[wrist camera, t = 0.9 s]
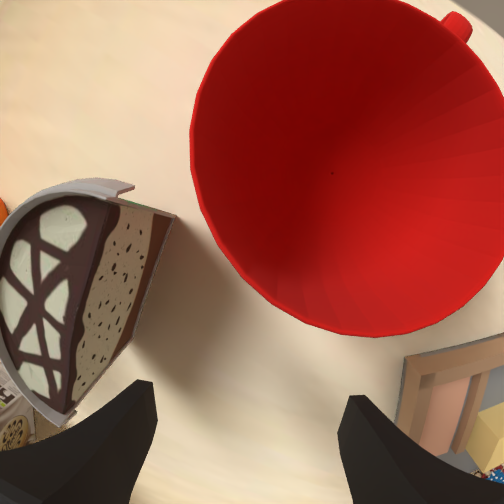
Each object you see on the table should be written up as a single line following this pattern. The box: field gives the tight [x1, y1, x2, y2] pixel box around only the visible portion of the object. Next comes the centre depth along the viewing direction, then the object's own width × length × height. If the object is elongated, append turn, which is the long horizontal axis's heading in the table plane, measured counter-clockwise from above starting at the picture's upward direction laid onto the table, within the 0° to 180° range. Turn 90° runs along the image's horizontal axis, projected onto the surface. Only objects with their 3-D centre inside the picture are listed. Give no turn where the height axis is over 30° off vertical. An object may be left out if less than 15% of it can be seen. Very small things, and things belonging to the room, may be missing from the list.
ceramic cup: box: [189, 0, 504, 338], centre depth 14 cm, size 13×17×10 cm
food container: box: [0, 178, 176, 428], centre depth 15 cm, size 12×6×10 cm, turn 157°
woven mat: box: [475, 465, 504, 484], centre depth 22 cm, size 10×11×2 cm
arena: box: [394, 333, 504, 473], centre depth 20 cm, size 18×18×3 cm
